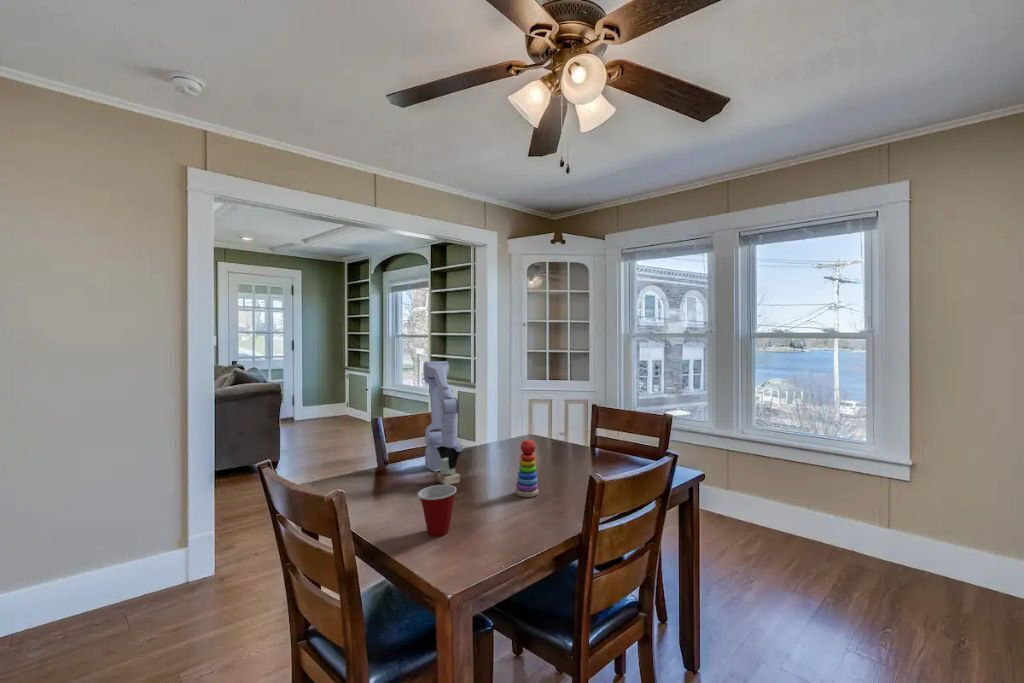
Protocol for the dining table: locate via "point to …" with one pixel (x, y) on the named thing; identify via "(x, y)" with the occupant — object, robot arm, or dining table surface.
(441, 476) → the maple base
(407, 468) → the dining table surface
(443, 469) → the sage block
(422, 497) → the plastic cup
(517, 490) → the stacking toy
